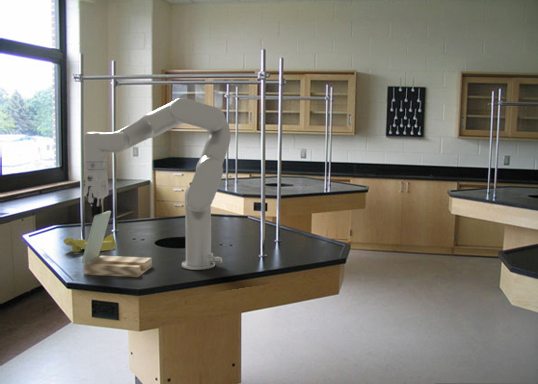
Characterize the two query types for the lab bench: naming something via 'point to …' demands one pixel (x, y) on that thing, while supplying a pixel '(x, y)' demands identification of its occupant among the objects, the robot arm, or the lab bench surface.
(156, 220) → the lab bench surface
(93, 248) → the plate
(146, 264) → the base
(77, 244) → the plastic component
